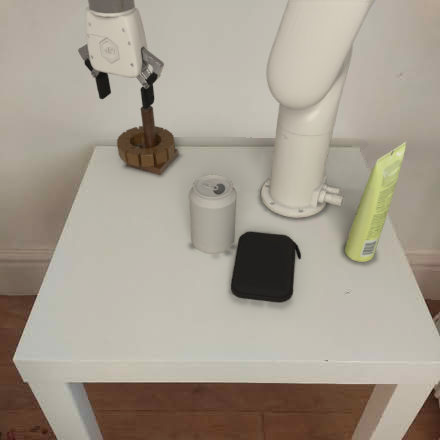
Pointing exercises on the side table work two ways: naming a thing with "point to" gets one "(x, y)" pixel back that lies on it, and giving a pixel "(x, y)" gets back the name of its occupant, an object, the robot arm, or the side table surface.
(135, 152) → the ring
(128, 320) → the side table surface
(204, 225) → the can
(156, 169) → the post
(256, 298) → the carrying case
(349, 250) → the tube
